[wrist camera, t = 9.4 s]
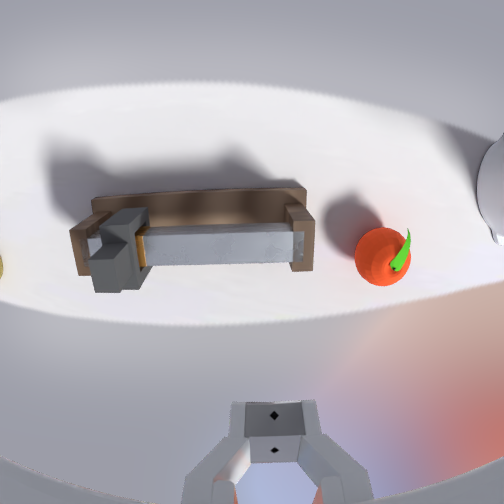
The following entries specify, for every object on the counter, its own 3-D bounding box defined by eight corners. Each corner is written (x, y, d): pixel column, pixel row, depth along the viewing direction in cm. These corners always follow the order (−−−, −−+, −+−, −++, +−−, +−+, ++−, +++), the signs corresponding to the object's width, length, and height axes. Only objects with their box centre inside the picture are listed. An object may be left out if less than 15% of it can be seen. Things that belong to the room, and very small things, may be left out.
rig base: (304, 187, 37) (321, 204, 29) (302, 252, 39) (316, 284, 32) (96, 197, 36) (62, 216, 28) (105, 258, 39) (78, 288, 31)
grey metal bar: (298, 221, 32) (304, 231, 29) (297, 250, 33) (303, 262, 31) (91, 229, 32) (78, 239, 29) (95, 256, 33) (84, 267, 30)
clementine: (371, 202, 37) (396, 219, 31) (409, 230, 39) (437, 250, 32) (336, 256, 40) (354, 281, 33) (376, 279, 41) (397, 306, 35)
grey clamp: (147, 207, 33) (113, 238, 23) (154, 262, 35) (127, 310, 26) (122, 208, 33) (80, 240, 23) (130, 263, 35) (96, 309, 26)
